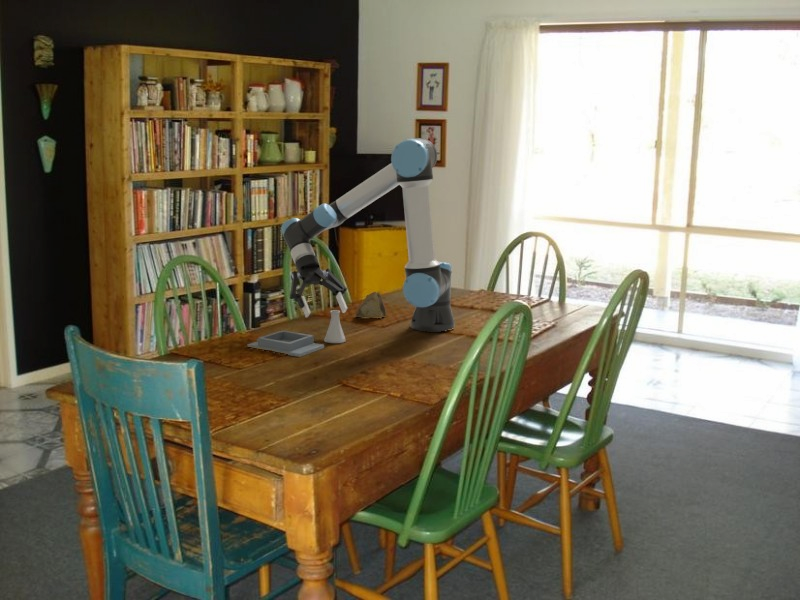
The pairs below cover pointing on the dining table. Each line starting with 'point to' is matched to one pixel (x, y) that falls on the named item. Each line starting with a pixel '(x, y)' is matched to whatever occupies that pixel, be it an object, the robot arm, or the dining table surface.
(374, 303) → the rock
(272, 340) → the caddy board
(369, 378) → the dining table surface
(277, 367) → the dining table surface
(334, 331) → the flask
